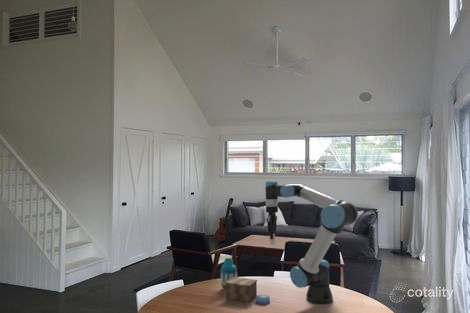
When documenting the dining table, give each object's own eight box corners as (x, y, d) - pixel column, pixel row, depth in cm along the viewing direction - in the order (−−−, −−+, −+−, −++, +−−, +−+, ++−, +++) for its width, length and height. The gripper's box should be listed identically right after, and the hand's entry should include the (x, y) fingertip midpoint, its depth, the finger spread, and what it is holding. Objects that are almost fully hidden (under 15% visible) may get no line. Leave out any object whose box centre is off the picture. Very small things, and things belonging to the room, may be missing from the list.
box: (256, 296, 219) (256, 281, 220) (249, 302, 209) (249, 286, 210) (234, 293, 226) (234, 278, 226) (226, 298, 216) (226, 283, 216)
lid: (257, 283, 219) (257, 279, 219) (248, 290, 208) (248, 285, 208) (233, 280, 226) (233, 276, 226) (224, 286, 215) (224, 282, 215)
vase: (224, 292, 227) (223, 261, 227) (218, 287, 236) (218, 258, 237) (239, 290, 230) (239, 260, 231) (233, 285, 240) (233, 256, 241)
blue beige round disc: (271, 300, 212) (271, 295, 212) (266, 305, 205) (266, 299, 205) (259, 298, 216) (258, 293, 216) (253, 303, 209) (253, 298, 209)
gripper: (269, 204, 233) (270, 241, 232) (262, 206, 221) (262, 245, 221) (280, 205, 230) (281, 242, 229) (274, 207, 218) (274, 246, 217)
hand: (272, 244), depth 225 cm, fingers closed
